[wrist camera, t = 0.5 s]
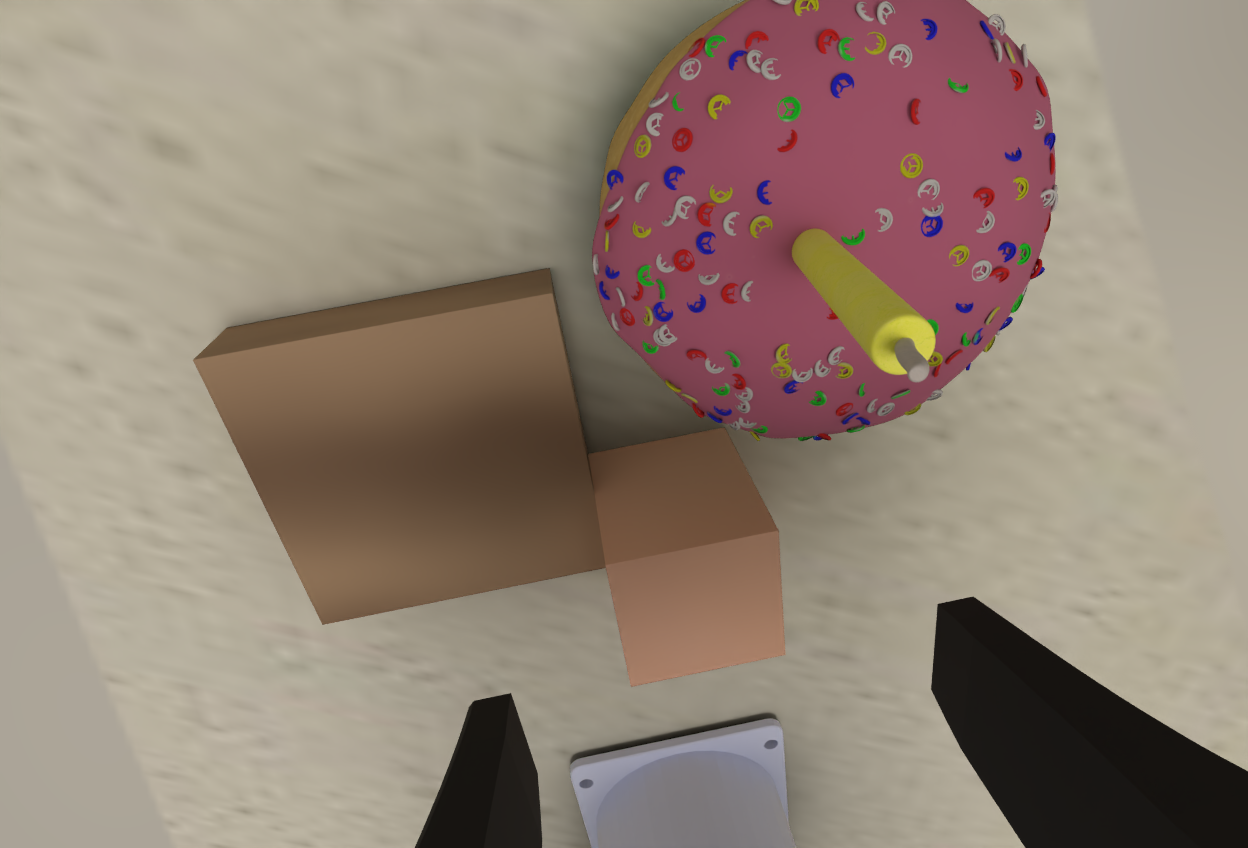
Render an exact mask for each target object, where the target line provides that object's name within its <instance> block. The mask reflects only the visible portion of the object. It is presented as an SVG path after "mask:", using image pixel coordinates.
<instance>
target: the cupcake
mask: <svg viewBox="0 0 1248 848" xmlns="http://www.w3.org/2000/svg"><path fill="white" fill-rule="evenodd" d="M994 20H996V21H998V22H999V23H998V24H997V25H996V24H995V23H994V22H993V21H994ZM999 25H1000V28H999V27H998V26H999ZM1054 143H1055V134H1054V133H1053V129H1052V116H1051V104H1050V98H1049V94H1048V90H1047V87H1046V85H1045V82H1044V80H1043V79H1042V77H1041V75H1040V74H1039V72H1038V71H1037V69H1036V68H1035V67H1034V66H1033V64H1032V63H1031V62H1030V61H1029V60H1028V58H1027V50H1026V45H1025V44H1023V45H1022V46H1021V50H1020V49H1019V48H1018V46H1017V45H1016V44H1015V43H1014V42H1013V41H1012V40H1011V39H1010V38H1009V37H1008V35H1007V34H1006V33H1005V22H1004V19H1003V18H1002V17H1001V16H1000V15H998V14H994V15H992V16H990V17H989V18H988V17H986V16H985V15H984V14H983V13H981V12H980V11H979V10H978V9H976V8H975V7H974V6H972V5H971V4H970V3H969V2H967V1H966V0H745V1H743V2H741V3H739V4H737V5H735V6H733V7H731V8H729V9H727V10H725V11H724V12H722V13H720V14H718V15H717V16H715V17H714V18H712V19H711V20H709V21H707V22H706V23H705V24H703V25H702V26H700V27H699V28H698V29H696V30H695V31H694V32H692V33H691V34H690V35H688V36H687V37H686V38H685V39H683V40H682V41H681V42H680V43H679V44H678V45H677V46H676V47H675V48H674V49H672V50H671V51H670V52H669V53H668V54H667V55H666V57H665V58H664V59H663V60H662V61H661V62H660V63H659V65H658V66H657V67H656V68H655V70H654V71H653V72H652V74H651V75H650V77H649V78H648V80H647V81H646V83H645V84H644V86H643V87H642V89H641V91H640V92H639V94H638V96H637V97H636V99H635V100H634V102H633V104H632V105H631V107H630V108H629V110H628V111H627V113H626V114H625V116H624V118H623V119H622V121H621V122H620V124H619V126H618V128H617V130H616V132H615V134H614V136H613V138H612V141H611V144H610V147H609V151H608V156H607V161H606V166H605V172H604V177H603V183H602V189H601V197H600V217H599V220H598V224H597V228H596V231H595V236H594V240H593V248H592V262H593V271H594V277H595V282H596V287H597V291H598V295H599V298H600V302H601V305H602V307H603V310H604V313H605V315H606V317H607V319H608V321H609V323H610V324H611V326H612V328H613V329H614V330H615V332H616V333H617V334H618V335H619V336H620V337H621V338H622V339H623V340H624V341H625V342H626V343H627V344H628V345H629V346H630V347H631V348H632V349H634V350H635V351H636V352H637V353H638V354H639V355H640V356H641V357H642V358H643V359H644V361H645V362H646V363H647V364H648V365H649V366H650V367H651V369H652V370H653V371H654V372H655V373H656V374H657V375H658V376H659V377H660V378H661V379H662V380H664V381H665V383H666V385H667V386H668V387H669V388H670V389H672V390H673V391H674V392H675V393H676V394H677V395H678V396H679V397H680V398H682V399H683V400H684V401H685V402H686V403H687V404H688V405H690V406H691V407H692V408H693V409H694V411H695V413H696V414H697V415H698V416H699V417H701V418H702V417H704V415H705V416H707V417H710V418H711V419H713V420H714V421H716V422H718V423H722V422H723V423H726V424H728V425H730V427H732V428H733V429H735V430H739V429H743V430H746V431H749V432H750V433H751V434H752V435H753V437H754V438H755V439H756V440H757V441H760V438H759V437H758V436H757V434H758V435H761V436H764V437H769V438H797V437H798V440H799V441H804V440H807V439H810V438H812V437H813V439H814V440H821V439H825V440H831V437H830V436H828V434H835V433H841V432H846V431H847V432H850V433H852V432H857V431H860V430H862V429H864V428H866V427H870V426H874V425H878V424H881V423H885V422H888V421H891V420H893V419H896V418H898V417H900V416H902V415H904V414H905V415H911V414H914V413H915V412H917V411H918V410H919V409H920V407H921V404H922V403H923V402H925V401H926V400H934V399H937V398H939V397H941V396H942V394H943V392H942V391H941V390H940V389H941V388H943V387H944V386H945V385H946V384H948V383H949V382H950V381H951V380H952V379H953V378H955V377H956V376H957V375H958V374H959V373H960V372H961V371H963V370H964V369H965V368H966V370H969V368H970V364H971V362H972V361H973V360H974V359H975V358H976V357H977V356H978V355H979V354H980V353H981V352H982V351H984V352H987V351H989V350H990V348H991V347H992V345H993V343H994V341H995V334H996V335H999V334H1000V330H1002V329H1004V328H1005V327H1007V326H1008V325H1009V324H1010V323H1011V322H1012V320H1013V318H1012V317H1008V316H1009V315H1010V313H1011V312H1012V313H1014V312H1016V311H1017V310H1018V308H1019V307H1020V305H1021V303H1022V300H1023V297H1024V295H1025V292H1026V289H1027V285H1028V283H1029V281H1030V280H1031V279H1033V278H1035V277H1037V276H1039V275H1040V274H1042V273H1043V272H1044V270H1045V269H1044V267H1042V260H1041V259H1038V258H1039V255H1040V252H1041V249H1042V246H1043V242H1044V239H1045V235H1046V232H1047V231H1048V229H1049V226H1050V221H1051V212H1052V211H1054V210H1055V209H1056V207H1057V204H1058V195H1057V185H1055V150H1054ZM1053 202H1054V203H1053ZM1052 205H1053V206H1052ZM1037 265H1038V267H1037ZM1036 267H1037V268H1036ZM1005 322H1007V323H1005ZM935 394H937V395H936V396H933V395H935ZM817 436H818V437H817ZM802 437H803V438H802Z"/></svg>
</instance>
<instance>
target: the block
mask: <svg viewBox="0 0 1248 848" xmlns="http://www.w3.org/2000/svg"><path fill="white" fill-rule="evenodd" d="M588 456H589V463H590V469H591V475H592V482H593V488H594V495H595V501H596V508H597V514H598V520H599V527H600V533H601V540H602V546H603V552H604V559H605V565H606V570H607V575H608V580H609V584H610V589H611V594H612V598H613V603H614V608H615V613H616V617H617V622H618V627H619V632H620V636H621V641H622V646H623V651H624V655H625V660H626V665H627V670H628V674H629V679H630V684H631V687H632V686H637V685H642V684H647V683H652V682H657V681H661V680H666V679H671V678H676V677H681V676H685V675H690V674H695V673H700V672H705V671H710V670H714V669H719V668H724V667H729V666H734V665H739V664H743V663H748V662H753V661H758V660H763V659H768V658H772V657H777V656H782V655H785V639H784V621H783V603H782V585H781V567H780V549H779V531H778V529H777V527H776V525H775V523H774V521H773V519H772V517H771V515H770V513H769V511H768V509H767V508H766V506H765V504H764V502H763V500H762V498H761V496H760V494H759V492H758V490H757V488H756V487H755V485H754V483H753V481H752V479H751V477H750V475H749V473H748V471H747V469H746V467H745V466H744V464H743V462H742V460H741V458H740V456H739V454H738V452H737V450H736V448H735V446H734V444H733V443H732V441H731V439H730V437H729V435H728V433H727V431H726V429H725V427H724V428H718V429H713V430H708V431H703V432H698V433H693V434H688V435H682V436H677V437H672V438H667V439H662V440H657V441H652V442H647V443H641V444H636V445H631V446H626V447H621V448H616V449H611V450H606V451H600V452H595V453H590V454H588Z"/></svg>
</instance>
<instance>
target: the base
mask: <svg viewBox="0 0 1248 848" xmlns="http://www.w3.org/2000/svg"><path fill="white" fill-rule="evenodd" d="M193 361H194V363H195V365H196V367H197V369H198V371H199V373H200V375H201V377H202V379H203V381H204V383H205V385H206V387H207V389H208V392H209V394H210V396H211V398H212V400H213V402H214V404H215V406H216V408H217V410H218V412H219V414H220V416H221V418H222V420H223V422H224V424H225V426H226V428H227V430H228V432H229V434H230V436H231V439H232V441H233V443H234V445H235V447H236V449H237V451H238V453H239V455H240V457H241V459H242V461H243V463H244V465H245V467H246V469H247V471H248V473H249V475H250V477H251V479H252V481H253V483H254V486H255V488H256V490H257V492H258V494H259V496H260V498H261V500H262V502H263V504H264V506H265V508H266V510H267V512H268V514H269V516H270V518H271V520H272V522H273V524H274V526H275V528H276V530H277V533H278V535H279V537H280V539H281V541H282V543H283V545H284V547H285V549H286V551H287V553H288V555H289V557H290V559H291V561H292V563H293V565H294V567H295V569H296V571H297V573H298V575H299V577H300V580H301V582H302V584H303V586H304V588H305V590H306V592H307V594H308V596H309V598H310V600H311V602H312V604H313V606H314V608H315V610H316V612H317V614H318V616H319V618H320V620H321V622H322V624H323V625H324V624H329V623H334V622H339V621H344V620H349V619H354V618H359V617H363V616H368V615H373V614H378V613H383V612H388V611H393V610H398V609H403V608H408V607H413V606H418V605H423V604H428V603H433V602H438V601H443V600H448V599H453V598H458V597H463V596H468V595H473V594H478V593H483V592H488V591H493V590H497V589H502V588H507V587H512V586H517V585H522V584H527V583H532V582H537V581H542V580H547V579H552V578H557V577H562V576H567V575H572V574H577V573H582V572H587V571H592V570H597V569H602V568H606V565H605V559H604V552H603V546H602V540H601V533H600V527H599V520H598V514H597V508H596V501H595V495H594V488H593V482H592V475H591V469H590V463H589V457H588V452H587V447H586V442H585V437H584V433H583V428H582V423H581V418H580V413H579V408H578V404H577V399H576V394H575V389H574V384H573V379H572V374H571V370H570V365H569V360H568V355H567V350H566V345H565V341H564V336H563V331H562V326H561V321H560V316H559V312H558V307H557V302H556V297H555V292H554V287H553V282H552V278H551V273H550V268H548V269H543V270H537V271H532V272H527V273H521V274H516V275H510V276H505V277H500V278H494V279H489V280H483V281H478V282H473V283H467V284H462V285H456V286H451V287H446V288H440V289H435V290H429V291H424V292H419V293H413V294H408V295H402V296H397V297H392V298H386V299H381V300H375V301H370V302H364V303H359V304H354V305H348V306H343V307H337V308H332V309H327V310H321V311H316V312H310V313H305V314H300V315H294V316H289V317H283V318H278V319H273V320H267V321H262V322H256V323H251V324H246V325H240V326H235V327H229V328H226V329H225V330H224V331H223V332H222V333H221V334H220V335H219V336H218V337H217V338H216V339H215V340H214V341H212V342H211V343H210V344H209V345H208V346H207V347H206V348H205V349H204V350H203V351H202V352H201V353H200V354H199V355H198V356H197V357H196V358H195V359H194V360H193Z"/></svg>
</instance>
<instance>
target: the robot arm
mask: <svg viewBox="0 0 1248 848" xmlns="http://www.w3.org/2000/svg"><path fill="white" fill-rule="evenodd" d="M931 690H932V692H933V694H934V696H935V698H936V700H937V702H938V704H939V706H940V708H941V710H942V712H943V714H944V717H945V719H946V721H947V723H948V725H949V726H950V728H951V730H952V732H953V734H954V736H955V738H956V740H957V742H958V744H959V746H960V748H961V749H962V751H963V753H964V754H965V756H966V757H967V759H968V760H969V762H970V764H971V765H972V767H973V768H974V770H975V771H976V773H977V774H978V776H979V778H980V779H981V781H982V782H983V784H984V785H985V787H986V788H987V790H988V791H989V793H990V795H991V796H992V798H993V799H994V801H995V802H996V804H997V805H998V807H999V808H1000V810H1001V811H1002V813H1003V814H1004V816H1005V817H1006V819H1007V820H1008V822H1009V823H1010V825H1011V827H1012V828H1013V830H1014V831H1015V833H1016V834H1017V836H1018V837H1019V839H1020V840H1021V842H1022V843H1023V845H1024V846H1025V848H1248V771H1246V770H1244V769H1242V768H1241V767H1239V766H1237V765H1235V764H1233V763H1231V762H1229V761H1228V760H1226V759H1224V758H1222V757H1220V756H1218V755H1216V754H1215V753H1213V752H1211V751H1209V750H1207V749H1206V748H1204V747H1202V746H1200V745H1199V744H1197V743H1195V742H1193V741H1192V740H1190V739H1188V738H1186V737H1185V736H1183V735H1181V734H1180V733H1178V732H1176V731H1175V730H1173V729H1171V728H1170V727H1168V726H1166V725H1165V724H1163V723H1161V722H1160V721H1158V720H1157V719H1155V718H1153V717H1152V716H1150V715H1148V714H1147V713H1145V712H1143V711H1142V710H1140V709H1138V708H1137V707H1135V706H1134V705H1132V704H1130V703H1129V702H1127V701H1126V700H1124V699H1122V698H1121V697H1119V696H1118V695H1116V694H1115V693H1113V692H1112V691H1110V690H1109V689H1107V688H1105V687H1104V686H1102V685H1101V684H1099V683H1098V682H1096V681H1095V680H1093V679H1092V678H1090V677H1089V676H1087V675H1086V674H1084V673H1083V672H1081V671H1080V670H1078V669H1077V668H1075V667H1074V666H1072V665H1071V664H1069V663H1068V662H1066V661H1065V660H1063V659H1062V658H1060V657H1059V656H1058V655H1056V654H1055V653H1053V652H1052V651H1050V650H1049V649H1047V648H1046V647H1045V646H1043V645H1042V644H1040V643H1039V642H1037V641H1036V640H1034V639H1033V638H1032V637H1030V636H1029V635H1027V634H1026V633H1024V632H1023V631H1022V630H1020V629H1019V628H1017V627H1016V626H1014V625H1013V624H1012V623H1010V622H1009V621H1007V620H1006V619H1004V618H1003V617H1002V616H1000V615H999V614H997V613H996V612H995V611H993V610H992V609H990V608H989V607H987V606H986V605H985V604H983V603H982V602H980V601H979V600H977V599H976V598H974V597H969V598H964V599H960V600H955V601H950V602H945V603H940V604H938V608H937V621H936V634H935V647H934V660H933V673H932V686H931ZM570 777H571V781H572V784H573V787H574V791H575V794H576V797H577V801H578V804H579V807H580V811H581V814H582V817H583V821H584V824H585V827H586V831H587V834H588V837H589V841H590V844H591V847H592V848H797V847H796V844H795V841H794V838H793V835H792V832H791V829H790V826H789V819H788V803H787V787H786V771H785V755H784V739H783V730H782V728H781V725H780V722H779V721H777V720H776V719H771V718H770V719H763V720H758V721H754V722H749V723H744V724H739V725H735V726H730V727H725V728H721V729H716V730H711V731H706V732H702V733H697V734H692V735H687V736H683V737H678V738H673V739H668V740H664V741H659V742H654V743H650V744H645V745H640V746H635V747H631V748H626V749H621V750H616V751H612V752H607V753H602V754H597V755H593V756H588V757H583V758H580V759H577V760H575V761H574V762H573V763H572V764H571V765H570ZM415 848H542V831H541V814H540V800H539V786H538V773H537V770H536V767H535V764H534V761H533V758H532V755H531V752H530V749H529V746H528V743H527V740H526V737H525V734H524V731H523V728H522V725H521V722H520V719H519V716H518V713H517V710H516V707H515V704H514V701H513V698H512V695H511V693H510V694H505V695H500V696H495V697H491V698H486V699H481V700H476V701H474V702H473V703H472V704H471V705H470V707H469V709H468V712H467V715H466V718H465V722H464V725H463V728H462V731H461V733H460V736H459V739H458V742H457V745H456V748H455V751H454V753H453V756H452V759H451V761H450V764H449V767H448V769H447V772H446V774H445V777H444V780H443V782H442V785H441V787H440V790H439V792H438V795H437V797H436V799H435V802H434V804H433V806H432V809H431V811H430V814H429V816H428V818H427V821H426V823H425V825H424V828H423V830H422V833H421V835H420V837H419V839H418V842H417V844H416V846H415Z"/></svg>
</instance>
